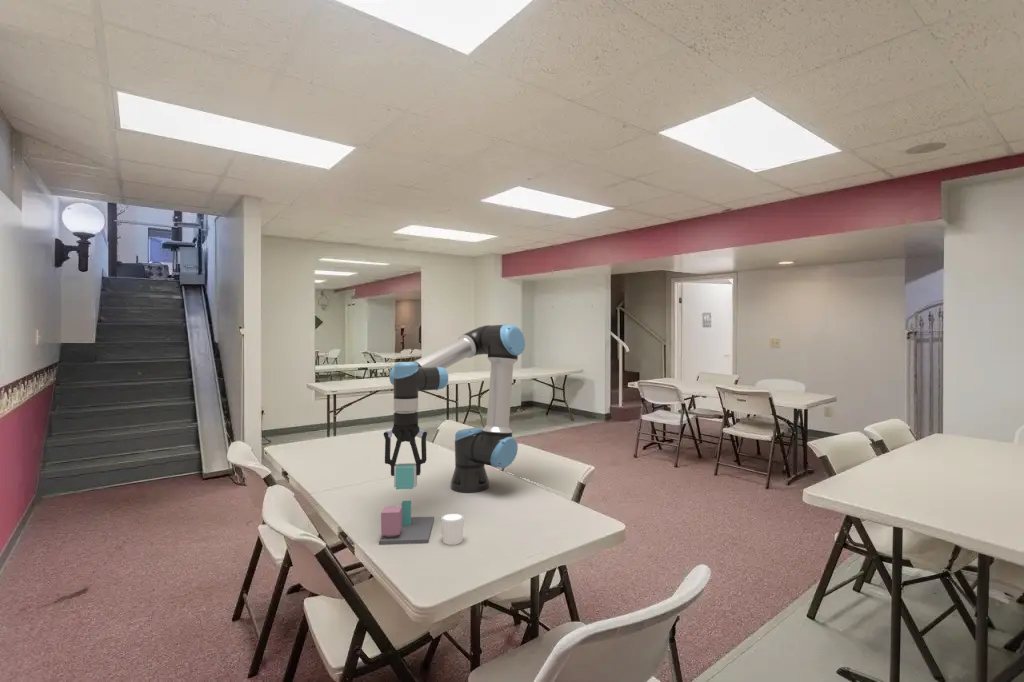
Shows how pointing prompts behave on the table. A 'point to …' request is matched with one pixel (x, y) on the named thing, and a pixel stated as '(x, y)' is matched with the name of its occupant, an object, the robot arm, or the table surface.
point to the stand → (404, 526)
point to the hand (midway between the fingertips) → (405, 485)
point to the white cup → (452, 528)
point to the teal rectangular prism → (405, 476)
